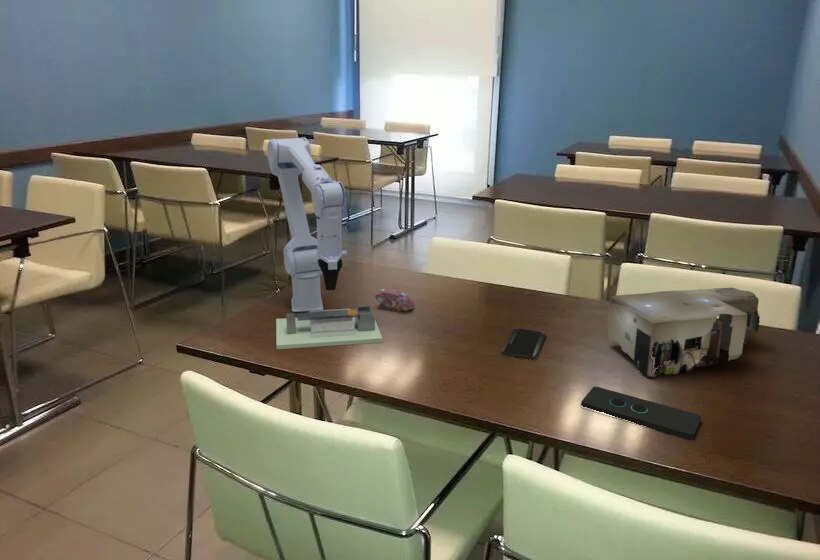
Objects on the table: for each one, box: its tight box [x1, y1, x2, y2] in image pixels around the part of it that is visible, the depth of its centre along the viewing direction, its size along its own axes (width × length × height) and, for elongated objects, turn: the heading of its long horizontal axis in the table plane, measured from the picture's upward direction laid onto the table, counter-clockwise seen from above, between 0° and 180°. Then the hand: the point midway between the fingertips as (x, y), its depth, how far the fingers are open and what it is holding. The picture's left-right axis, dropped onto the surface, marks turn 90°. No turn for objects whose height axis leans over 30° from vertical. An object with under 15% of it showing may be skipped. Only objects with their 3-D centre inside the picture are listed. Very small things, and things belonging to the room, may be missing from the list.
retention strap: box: [296, 308, 367, 321], centre depth 153 cm, size 3×16×1 cm, turn 101°
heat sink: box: [308, 308, 355, 338], centre depth 153 cm, size 10×10×3 cm
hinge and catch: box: [285, 304, 376, 334], centre depth 153 cm, size 6×20×4 cm, turn 101°
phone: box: [501, 328, 547, 361], centre depth 148 cm, size 8×1×15 cm
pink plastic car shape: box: [374, 288, 416, 312], centre depth 168 cm, size 10×5×7 cm, turn 63°
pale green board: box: [275, 317, 383, 350], centre depth 154 cm, size 16×24×1 cm, turn 101°
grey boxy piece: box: [606, 287, 761, 378], centre depth 142 cm, size 18×33×13 cm, turn 103°
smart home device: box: [580, 386, 702, 440], centre depth 120 cm, size 8×2×20 cm
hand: (330, 289), depth 154 cm, fingers closed
